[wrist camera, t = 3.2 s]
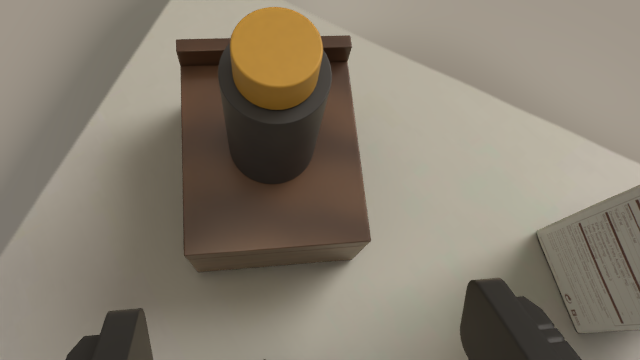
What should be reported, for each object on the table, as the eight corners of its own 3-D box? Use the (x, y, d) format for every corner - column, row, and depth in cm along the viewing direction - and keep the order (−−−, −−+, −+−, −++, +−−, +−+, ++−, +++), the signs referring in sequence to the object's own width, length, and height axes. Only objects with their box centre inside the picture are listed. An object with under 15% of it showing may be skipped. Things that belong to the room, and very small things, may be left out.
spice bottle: (249, 197, 28) (243, 119, 19) (216, 123, 29) (194, 15, 20) (327, 164, 29) (359, 76, 20) (292, 94, 30) (306, -21, 21)
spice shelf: (352, 259, 34) (377, 235, 26) (197, 272, 32) (179, 250, 25) (333, 95, 37) (350, 35, 30) (193, 101, 36) (175, 39, 29)
